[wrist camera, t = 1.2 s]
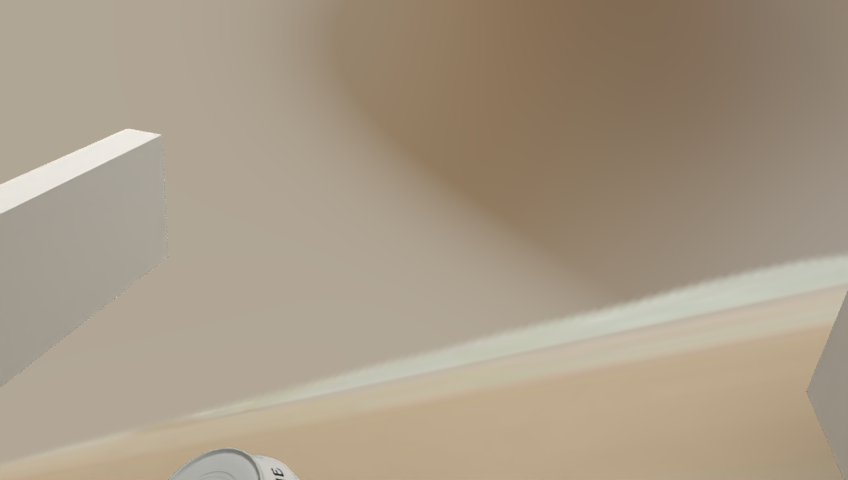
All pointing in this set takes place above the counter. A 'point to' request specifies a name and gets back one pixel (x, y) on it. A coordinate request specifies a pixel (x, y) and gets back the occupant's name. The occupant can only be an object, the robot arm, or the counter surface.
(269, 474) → the energy drink can
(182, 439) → the counter surface
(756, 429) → the counter surface
